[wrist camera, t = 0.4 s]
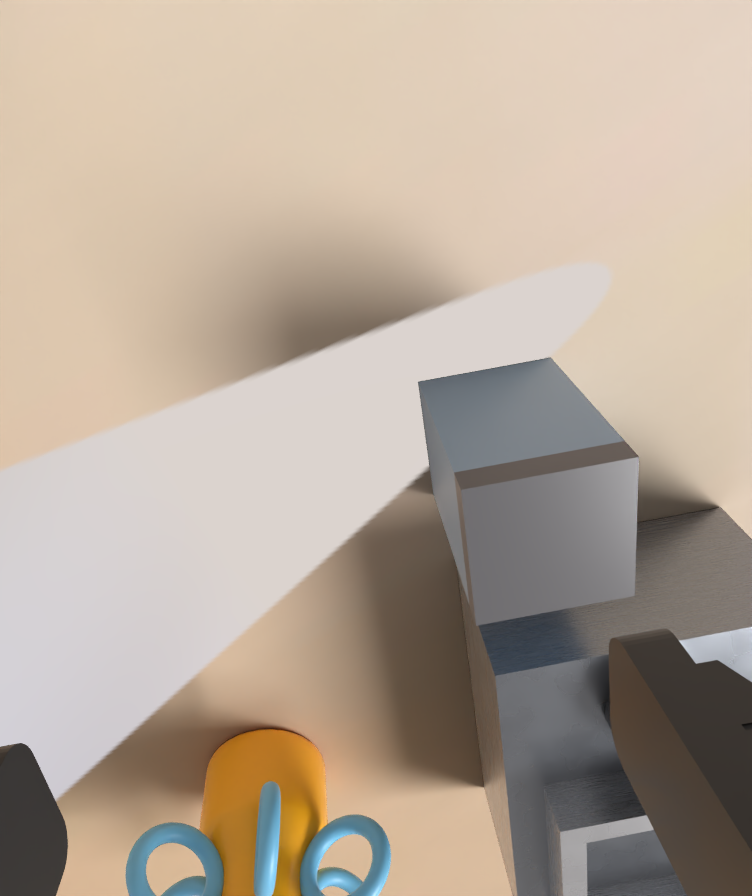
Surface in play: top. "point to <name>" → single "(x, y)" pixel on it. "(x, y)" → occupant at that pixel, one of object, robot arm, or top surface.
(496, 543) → the grey lidded box
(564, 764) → the grey boxy piece
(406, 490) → the top surface
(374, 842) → the cylinder
